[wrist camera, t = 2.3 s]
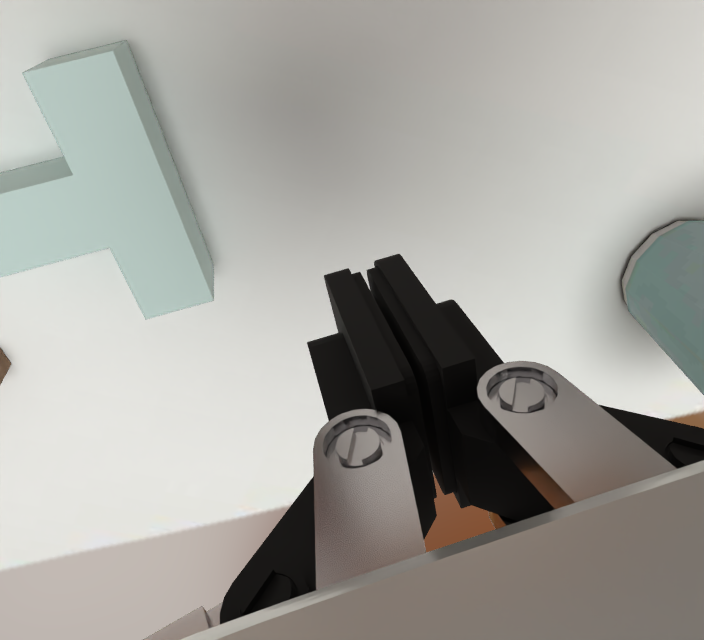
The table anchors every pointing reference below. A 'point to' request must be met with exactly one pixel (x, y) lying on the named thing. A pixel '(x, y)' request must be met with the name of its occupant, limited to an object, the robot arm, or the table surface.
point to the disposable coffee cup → (671, 294)
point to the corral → (3, 365)
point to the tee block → (105, 185)
